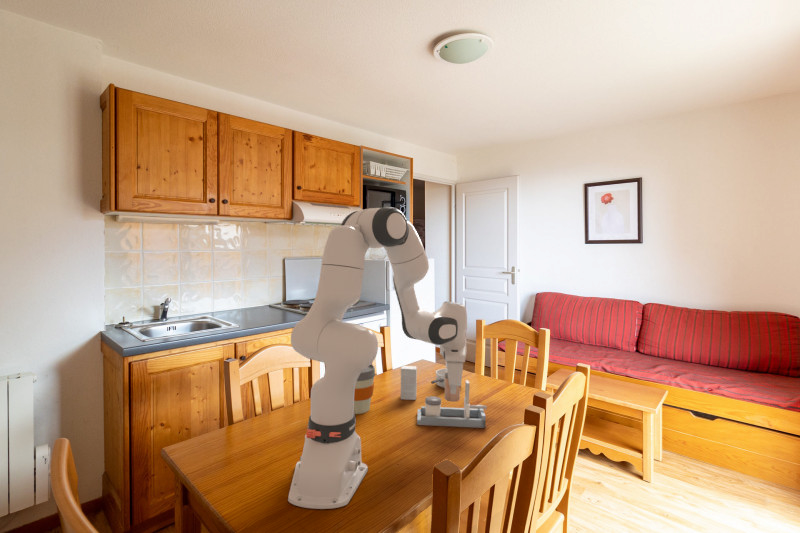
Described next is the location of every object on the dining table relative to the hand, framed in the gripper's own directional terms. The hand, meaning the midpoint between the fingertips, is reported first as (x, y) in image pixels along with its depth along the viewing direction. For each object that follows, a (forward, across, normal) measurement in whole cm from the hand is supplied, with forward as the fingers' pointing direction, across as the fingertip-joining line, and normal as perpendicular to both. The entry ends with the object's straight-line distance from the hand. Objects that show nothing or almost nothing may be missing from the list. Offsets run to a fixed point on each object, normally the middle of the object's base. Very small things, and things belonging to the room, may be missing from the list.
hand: (452, 389), depth 129 cm
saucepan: (+11, -30, -1) cm, 32 cm away
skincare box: (+11, -18, -15) cm, 26 cm away
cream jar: (+10, 0, -6) cm, 12 cm away
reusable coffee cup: (+11, -6, -33) cm, 36 cm away
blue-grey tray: (+10, 0, 0) cm, 11 cm away
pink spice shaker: (+3, 0, 0) cm, 3 cm away
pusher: (+10, 0, +8) cm, 13 cm away
